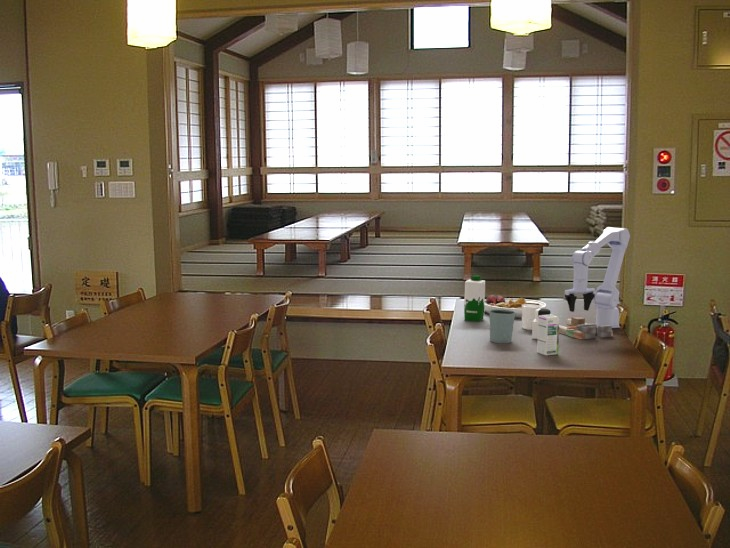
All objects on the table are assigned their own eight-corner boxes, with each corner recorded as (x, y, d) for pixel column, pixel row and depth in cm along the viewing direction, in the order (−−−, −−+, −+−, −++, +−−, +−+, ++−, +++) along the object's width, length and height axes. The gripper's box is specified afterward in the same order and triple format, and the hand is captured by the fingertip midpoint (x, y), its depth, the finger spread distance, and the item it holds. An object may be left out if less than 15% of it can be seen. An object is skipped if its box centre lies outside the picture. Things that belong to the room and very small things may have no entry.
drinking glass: (483, 339, 328) (484, 310, 326) (504, 337, 332) (506, 308, 330) (497, 344, 318) (498, 314, 317) (519, 342, 322) (520, 312, 321)
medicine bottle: (551, 336, 334) (552, 308, 332) (549, 340, 327) (550, 311, 326) (534, 335, 336) (535, 307, 335) (531, 338, 330) (533, 309, 328)
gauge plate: (594, 332, 343) (594, 323, 342) (604, 335, 337) (605, 326, 336) (566, 335, 337) (566, 325, 336) (576, 338, 331) (576, 328, 330)
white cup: (539, 330, 346) (540, 307, 345) (520, 329, 348) (521, 306, 347) (539, 327, 354) (540, 304, 353) (520, 326, 356) (521, 303, 354)
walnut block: (578, 330, 348) (578, 316, 347) (584, 332, 344) (584, 318, 343) (570, 331, 346) (571, 317, 345) (576, 333, 342) (577, 319, 342)
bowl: (554, 312, 392) (555, 296, 391) (532, 321, 367) (533, 304, 366) (497, 305, 408) (497, 290, 407) (472, 314, 383) (472, 298, 382)
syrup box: (545, 355, 300) (547, 317, 298) (536, 352, 306) (538, 314, 304) (558, 354, 302) (560, 316, 301) (548, 351, 308) (550, 313, 306)
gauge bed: (569, 323, 362) (570, 313, 361) (613, 336, 336) (613, 325, 336) (538, 326, 355) (539, 316, 355) (580, 339, 329) (581, 328, 329)
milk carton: (485, 319, 371) (487, 275, 368) (480, 322, 363) (482, 278, 360) (467, 317, 374) (468, 274, 372) (461, 320, 366) (463, 277, 363)
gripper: (588, 277, 348) (586, 308, 350) (560, 278, 342) (559, 310, 344) (599, 279, 342) (597, 310, 344) (571, 280, 336) (569, 313, 338)
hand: (579, 310), depth 344 cm, fingers open, 7 cm apart
